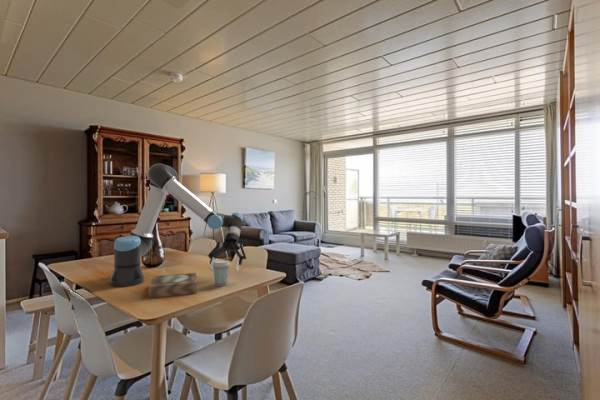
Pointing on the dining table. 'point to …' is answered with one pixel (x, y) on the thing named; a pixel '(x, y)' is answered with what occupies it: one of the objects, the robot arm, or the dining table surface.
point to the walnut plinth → (173, 285)
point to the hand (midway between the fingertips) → (223, 269)
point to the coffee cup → (221, 272)
